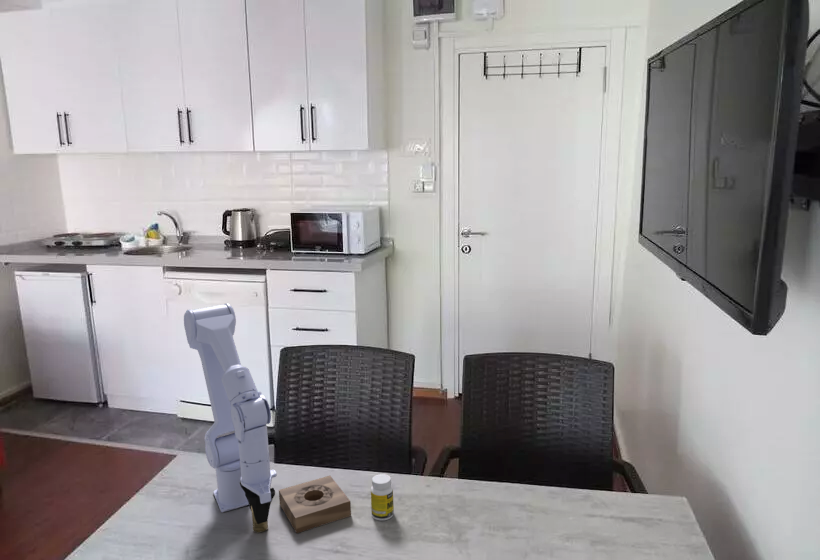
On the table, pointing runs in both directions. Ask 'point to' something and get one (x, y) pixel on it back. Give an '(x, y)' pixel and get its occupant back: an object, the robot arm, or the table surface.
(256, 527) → the brass peg
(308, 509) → the socket block
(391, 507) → the supplement bottle
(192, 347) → the robot arm
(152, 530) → the table surface
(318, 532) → the table surface
